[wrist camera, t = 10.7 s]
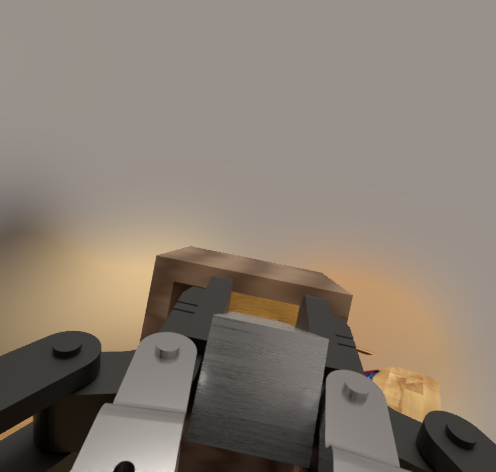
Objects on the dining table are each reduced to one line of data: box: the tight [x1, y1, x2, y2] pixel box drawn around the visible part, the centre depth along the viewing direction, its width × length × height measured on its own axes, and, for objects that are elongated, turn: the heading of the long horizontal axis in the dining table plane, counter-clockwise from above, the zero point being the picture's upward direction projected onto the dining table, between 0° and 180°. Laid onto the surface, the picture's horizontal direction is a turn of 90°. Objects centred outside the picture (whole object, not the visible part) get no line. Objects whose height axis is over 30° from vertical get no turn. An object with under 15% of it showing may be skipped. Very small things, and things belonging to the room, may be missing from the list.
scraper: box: [186, 292, 329, 468], centre depth 18 cm, size 22×4×4 cm, turn 178°
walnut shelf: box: [140, 247, 353, 472], centre depth 40 cm, size 18×16×32 cm
